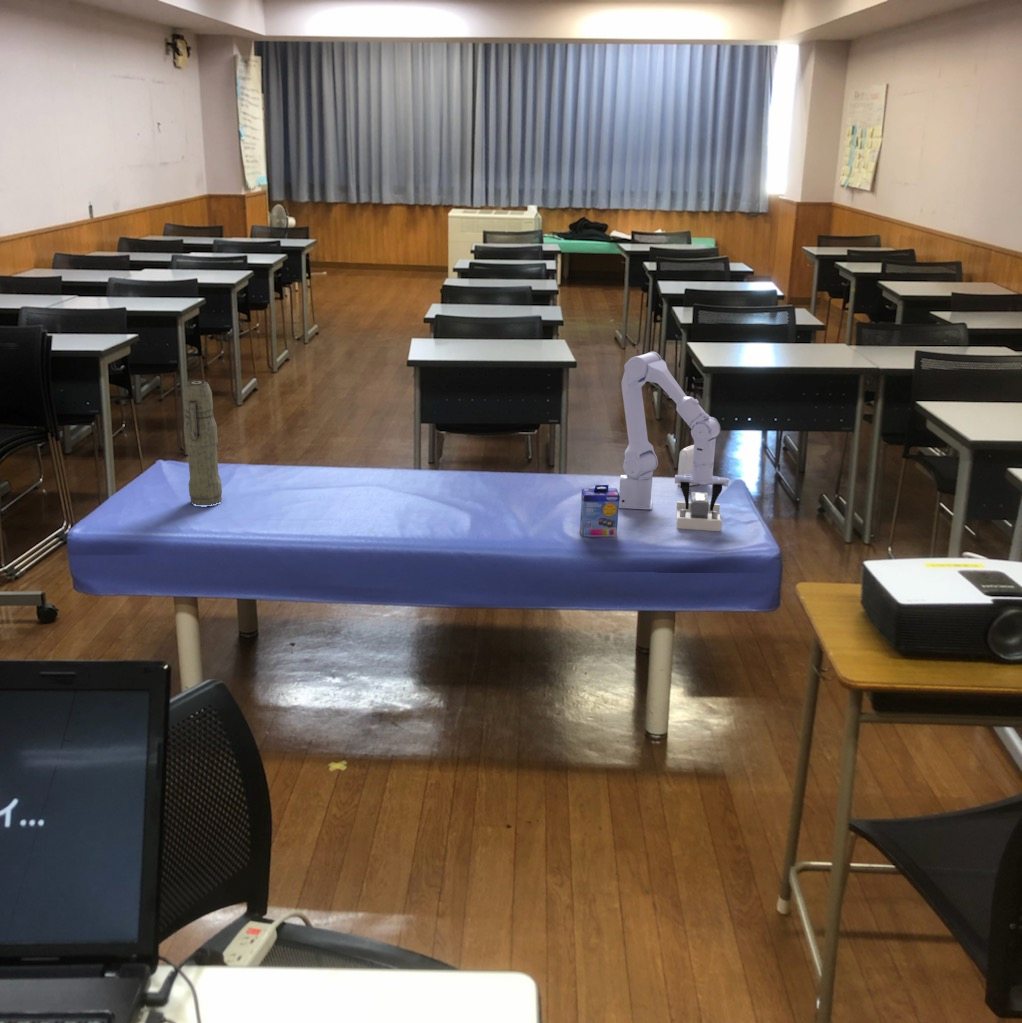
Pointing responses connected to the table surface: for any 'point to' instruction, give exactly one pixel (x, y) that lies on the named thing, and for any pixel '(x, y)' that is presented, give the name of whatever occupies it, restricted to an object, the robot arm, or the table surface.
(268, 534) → the table surface
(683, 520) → the tray
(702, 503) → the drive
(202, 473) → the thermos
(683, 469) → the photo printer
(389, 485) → the table surface
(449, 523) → the table surface
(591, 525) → the ink cartridge box
